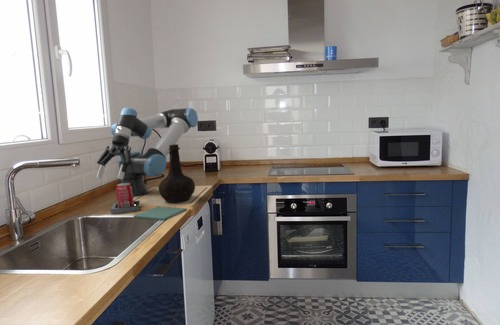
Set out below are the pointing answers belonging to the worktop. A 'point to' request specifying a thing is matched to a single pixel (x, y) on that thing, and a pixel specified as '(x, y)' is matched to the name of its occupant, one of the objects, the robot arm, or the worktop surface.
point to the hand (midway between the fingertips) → (109, 178)
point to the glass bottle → (176, 180)
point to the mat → (160, 213)
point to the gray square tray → (125, 208)
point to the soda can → (124, 195)
